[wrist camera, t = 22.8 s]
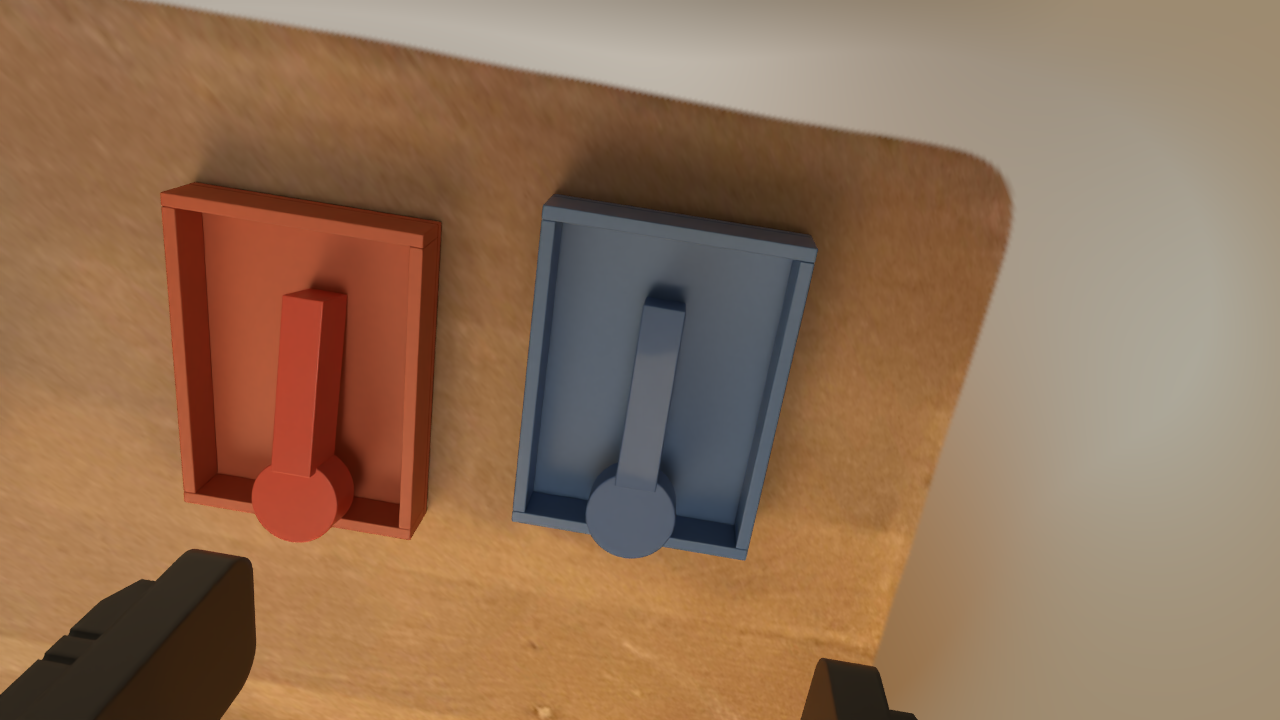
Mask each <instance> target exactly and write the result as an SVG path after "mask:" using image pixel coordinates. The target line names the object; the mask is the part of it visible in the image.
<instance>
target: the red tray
mask: <svg viewBox="0 0 1280 720" xmlns="http://www.w3.org/2000/svg"><path fill="white" fill-rule="evenodd" d="M160 196H161V205H162V207H161V209H162V222H163V234H164V247H165V260H166V272H167V285H168V297H169V310H170V323H171V335H172V348H173V360H174V373H175V386H176V398H177V411H178V424H179V436H180V449H181V461H182V474H183V487H184V501H185V502H188V503H194V504H200V505H206V506H212V507H218V508H224V509H230V510H236V511H241V512H247V513H253V514H255V512H254V509H253V506H252V488H253V485H254V482H255V480H256V478H257V476H258V475H259V474H260V472H261V471H262V470H263V469H264V468H266V467H267V466H268V465H270V464H271V461H272V446H273V431H274V416H275V401H276V386H277V371H278V356H279V341H280V326H281V311H282V296H283V295H285V294H289V293H293V292H297V291H301V290H305V289H309V288H312V289H318V290H324V291H330V292H336V293H342V294H347V306H346V318H345V330H344V342H343V354H342V366H341V378H340V391H339V403H338V415H337V427H336V439H335V451H334V455H335V456H337V457H338V458H339V459H340V460H341V461H342V462H343V463H344V464H345V466H346V467H347V468H348V470H349V472H350V474H351V477H352V480H353V485H354V496H353V501H352V504H351V506H350V508H349V510H348V511H347V513H346V514H345V515H344V516H343V517H342V518H341V519H340V520H339V521H338V522H337V523H336V524H334V525H333V526H332V527H336V528H342V529H347V530H353V531H359V532H365V533H371V534H377V535H383V536H389V537H395V538H400V539H406V540H410V539H411V538H412V536H413V534H414V532H415V531H416V529H417V527H418V526H419V524H420V522H421V521H422V519H423V517H424V515H425V514H426V510H427V491H428V472H429V453H430V434H431V415H432V396H433V377H434V358H435V339H436V319H437V300H438V281H439V262H440V243H441V224H442V223H441V222H438V221H431V220H425V219H419V218H413V217H407V216H401V215H394V214H388V213H382V212H376V211H370V210H363V209H357V208H351V207H345V206H339V205H333V204H326V203H320V202H314V201H308V200H302V199H296V198H289V197H283V196H277V195H271V194H265V193H258V192H252V191H246V190H240V189H234V188H228V187H221V186H215V185H209V184H203V183H197V182H194V183H190V184H187V185H184V186H181V187H177V188H174V189H170V190H167V191H164V192H161V193H160Z"/></svg>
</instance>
